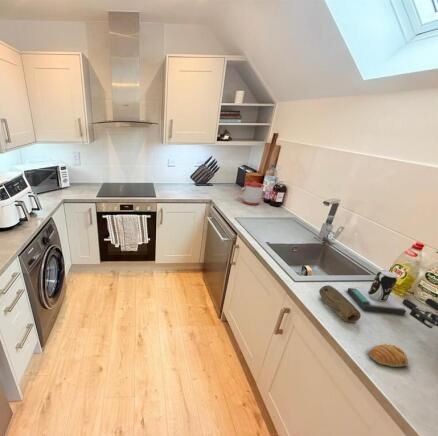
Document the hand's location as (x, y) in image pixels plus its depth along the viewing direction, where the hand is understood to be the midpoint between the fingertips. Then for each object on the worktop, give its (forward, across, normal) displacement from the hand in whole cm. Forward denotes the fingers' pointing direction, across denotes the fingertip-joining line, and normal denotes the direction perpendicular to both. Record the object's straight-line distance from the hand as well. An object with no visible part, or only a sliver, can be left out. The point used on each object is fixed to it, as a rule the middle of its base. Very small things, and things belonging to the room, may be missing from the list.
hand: (415, 300), depth 82 cm
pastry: (-12, +18, +12) cm, 25 cm away
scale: (+11, 0, +12) cm, 16 cm away
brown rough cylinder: (+8, +19, +12) cm, 24 cm away
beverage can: (+11, 0, +9) cm, 14 cm away
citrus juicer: (+132, -3, +12) cm, 133 cm away
